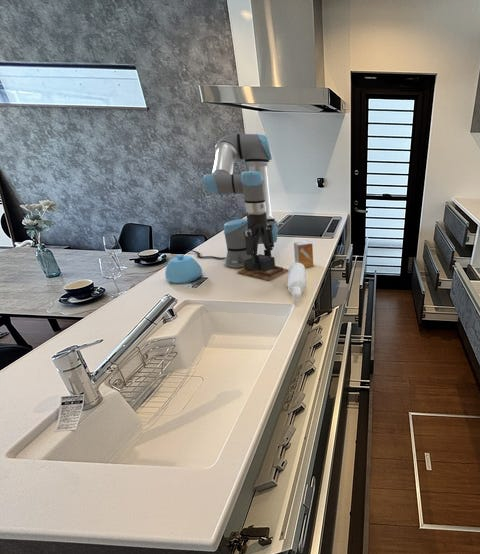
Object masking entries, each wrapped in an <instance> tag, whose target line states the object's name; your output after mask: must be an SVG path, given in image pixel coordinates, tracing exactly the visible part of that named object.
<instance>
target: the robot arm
mask: <svg viewBox="0 0 480 554" xmlns="http://www.w3.org/2000/svg"><path fill="white" fill-rule="evenodd" d="M269 143H270V142H269V139H268V137H267V136H266V135H265V134H258V133H230V134H227V135H225V136H223V137H221V138H220V139H219V140H218V141H217V142H216V144H215V147H214V155H215V158H214V162H213V167H212V172H211V173H205V174H204V175H203V181H202V182H203V187H204V190H205V192H206V193H207V194H209V195H233V194H236V195H242V194H243V199H244V207H245V213H246V218H237V219H233V220H230V221H227V222H225V223H224V225H223V234H224V238H225V244H226V250H227V252H226V257H225V256H224V257H219V256H212V255H206V256H203V255H201V253H200V252H199V251H197V250H193V249H187V250H186V251H185V252H184V253H187V254H188V253H189V252H193V253H196V254H197V255H196V256H197V258H200V259H208V258H210V259H218V260H225V266H226V267H227V268H230V269H244V262H243V261H245V260H248V259H249V258H252V263H253V264H254V269H255V270H260V263H259V254H258V247H259V245H263V247H264V249H263V255H266V256H271V257H272V251H273V250H274V248H275V243H277V242H278V233H279V231H278V229H279V226H278V225H279V222H278V221H277V220H276V219H275V218H276V217H274V215H272V207H271V198H270V188H269V187H270V185H269V178H268V177H269V176H268V168H267V167H269V165H270V161H272V158H273V157H272V152H271V148H270V145H269ZM236 160H244V163H245V165H246V166H247V167H248V170H244V171H241V173H239V174H238V173H237V174H236V173H235V174H233V172H234V164H235V161H236Z"/></svg>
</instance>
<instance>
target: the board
mask: <svg viewBox="0 0 480 554" xmlns="http://www.w3.org/2000/svg"><path fill="white" fill-rule="evenodd" d="M243 262H244V268H241V269H240V270H237V274H240V275H243V276H244V275H245V276H248V277H252V278H257V279H260V280H265V281H269V282H270V281H272V280H273V279H275V278H277V277H279V276H281V275H283V274H285V273H287V272H289V268H284V267H283V266H278V265H275V267H274V268H272V269H270V270H268V271H266V272H264V271H260V270H255V269H252V268H251V266H250V259H248V260H245V261H243Z"/></svg>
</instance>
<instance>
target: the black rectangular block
mask: <svg viewBox="0 0 480 554" xmlns="http://www.w3.org/2000/svg"><path fill="white" fill-rule="evenodd" d="M258 255H259V263H260V271H264V272H266V271H268V270H270V269H272V268H274V267H275V266H276V261H275V257H274V256H272V255H271V256H266V255H264V254H262V253H259V254H258ZM249 259H250V266H251V268H252V269H254V264H253V263H252V258H249Z"/></svg>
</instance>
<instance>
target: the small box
mask: <svg viewBox="0 0 480 554" xmlns="http://www.w3.org/2000/svg"><path fill="white" fill-rule="evenodd" d="M293 251H294V263H301V264H303V265H304V267H305V269H306V268H311V267H314V249H313V242H311V241H310V240H301V241H294V242H293Z"/></svg>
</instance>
